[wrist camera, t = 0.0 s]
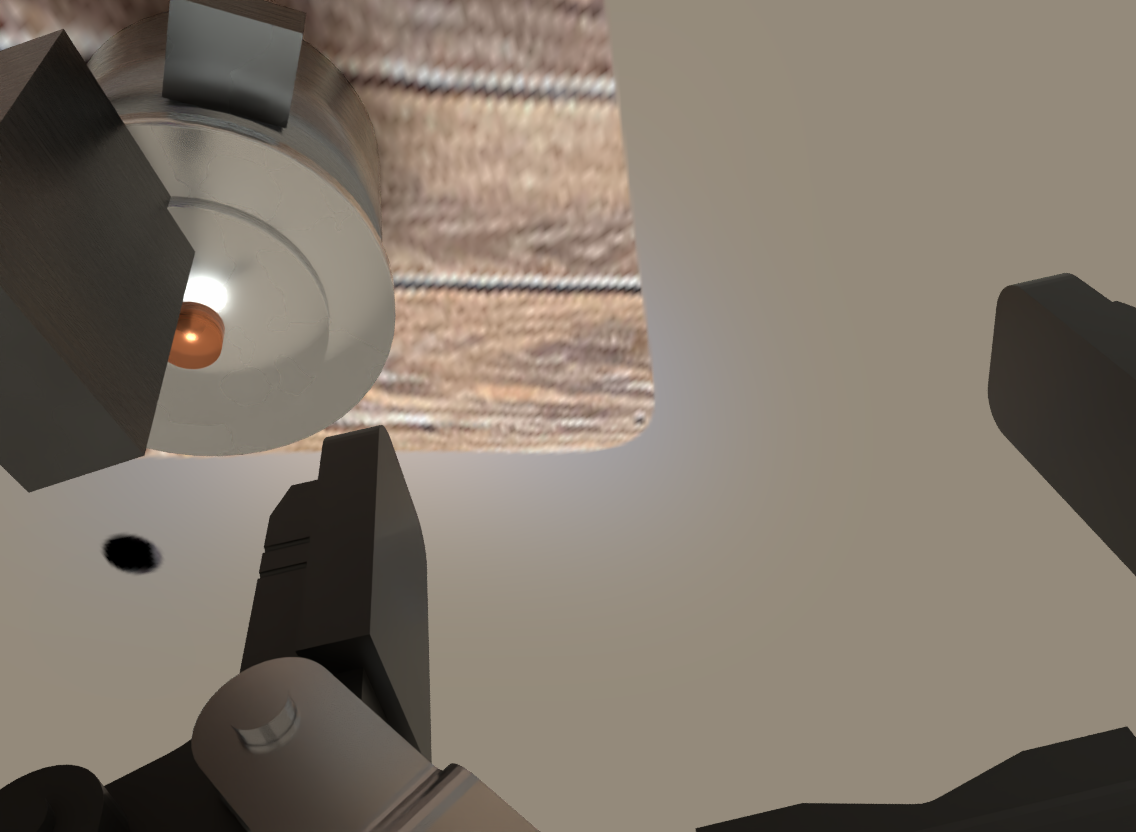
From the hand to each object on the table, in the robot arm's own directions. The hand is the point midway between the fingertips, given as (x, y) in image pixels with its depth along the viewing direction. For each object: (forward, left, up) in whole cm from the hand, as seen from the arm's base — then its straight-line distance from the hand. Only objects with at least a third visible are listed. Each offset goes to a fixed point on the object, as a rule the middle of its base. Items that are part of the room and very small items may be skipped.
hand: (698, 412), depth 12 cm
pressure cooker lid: (+9, -7, -14) cm, 18 cm away
